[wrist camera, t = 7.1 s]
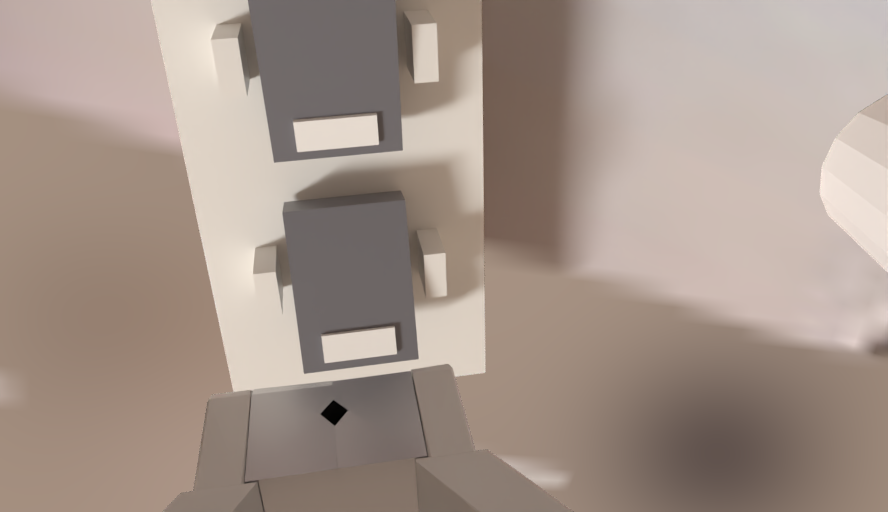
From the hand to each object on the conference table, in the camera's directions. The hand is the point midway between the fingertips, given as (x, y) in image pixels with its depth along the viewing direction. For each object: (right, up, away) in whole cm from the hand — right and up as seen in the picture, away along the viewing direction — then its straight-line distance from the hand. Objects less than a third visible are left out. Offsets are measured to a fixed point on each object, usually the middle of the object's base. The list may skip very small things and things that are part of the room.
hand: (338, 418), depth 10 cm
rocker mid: (-1, +7, +9) cm, 11 cm away
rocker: (-1, +1, +12) cm, 12 cm away
